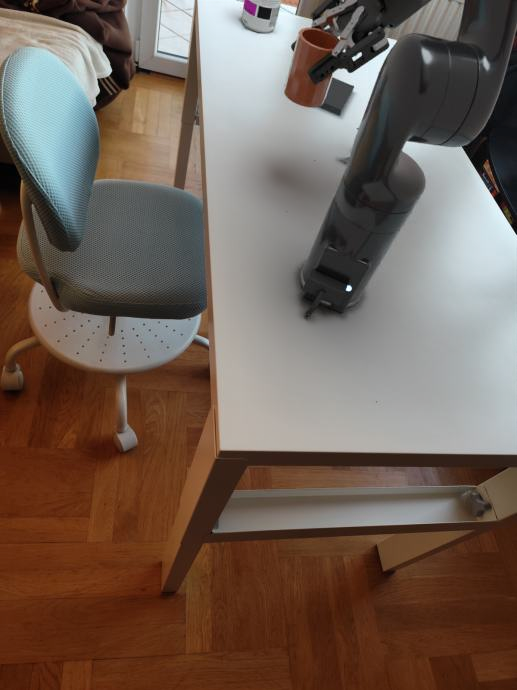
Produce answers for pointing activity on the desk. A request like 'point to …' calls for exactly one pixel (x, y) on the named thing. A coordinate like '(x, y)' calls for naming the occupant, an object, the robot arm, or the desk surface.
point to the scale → (337, 96)
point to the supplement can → (260, 14)
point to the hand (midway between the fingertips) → (302, 65)
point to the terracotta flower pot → (306, 55)
